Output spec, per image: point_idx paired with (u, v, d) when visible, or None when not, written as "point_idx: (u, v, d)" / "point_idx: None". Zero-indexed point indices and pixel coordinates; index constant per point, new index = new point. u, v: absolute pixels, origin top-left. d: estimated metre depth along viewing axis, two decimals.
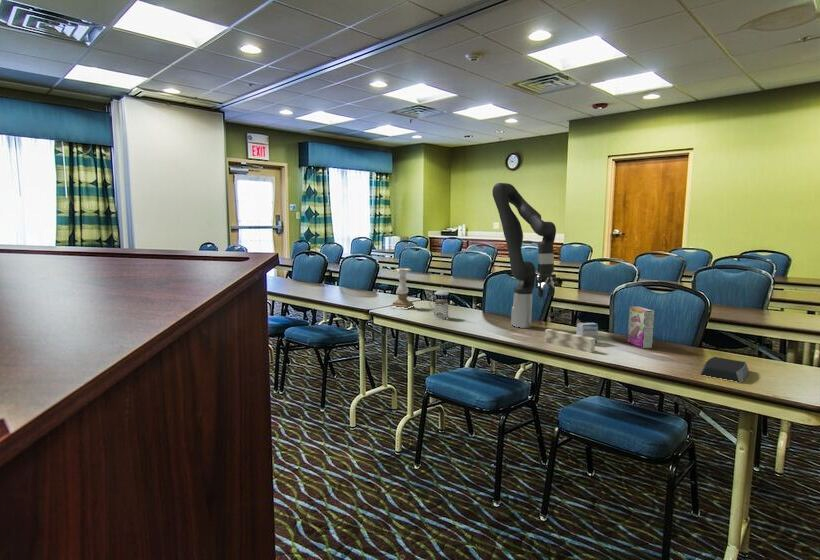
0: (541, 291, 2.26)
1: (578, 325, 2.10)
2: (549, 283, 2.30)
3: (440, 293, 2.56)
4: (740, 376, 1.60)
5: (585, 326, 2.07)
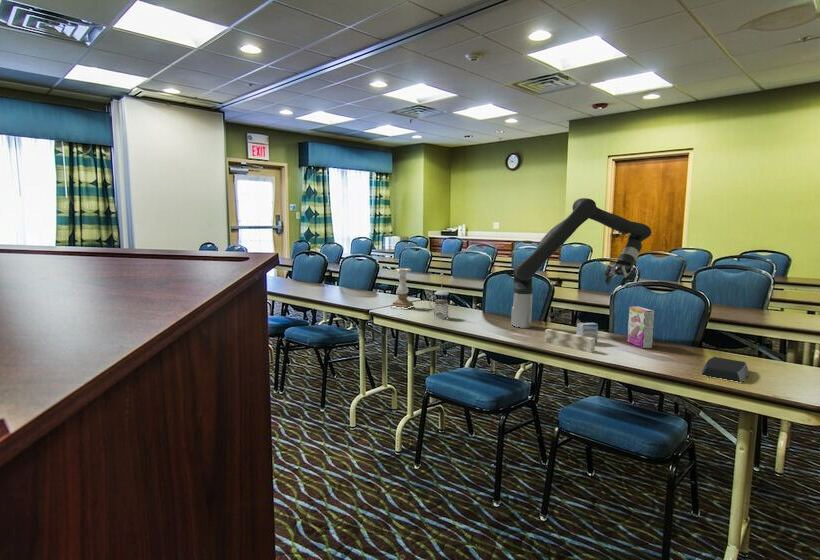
0: None
1: (578, 325, 2.10)
2: None
3: (440, 293, 2.56)
4: (741, 376, 1.60)
5: (585, 326, 2.07)
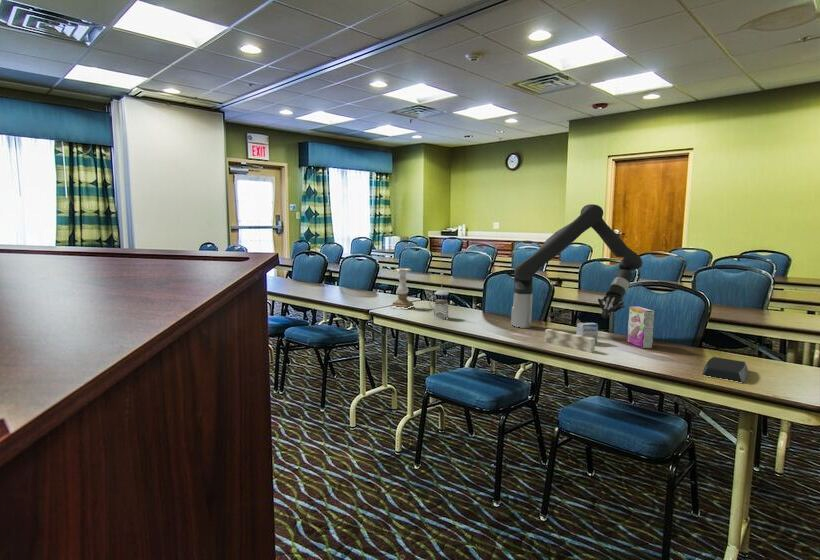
0: None
1: (578, 325, 2.10)
2: None
3: (440, 293, 2.56)
4: (743, 376, 1.60)
5: (585, 326, 2.07)
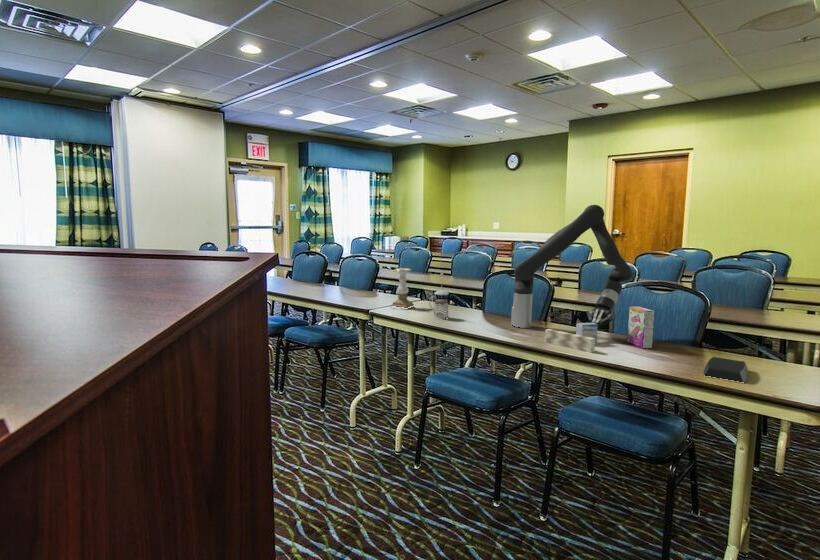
0: None
1: (577, 325, 2.10)
2: None
3: (440, 293, 2.56)
4: (744, 376, 1.60)
5: (585, 326, 2.07)
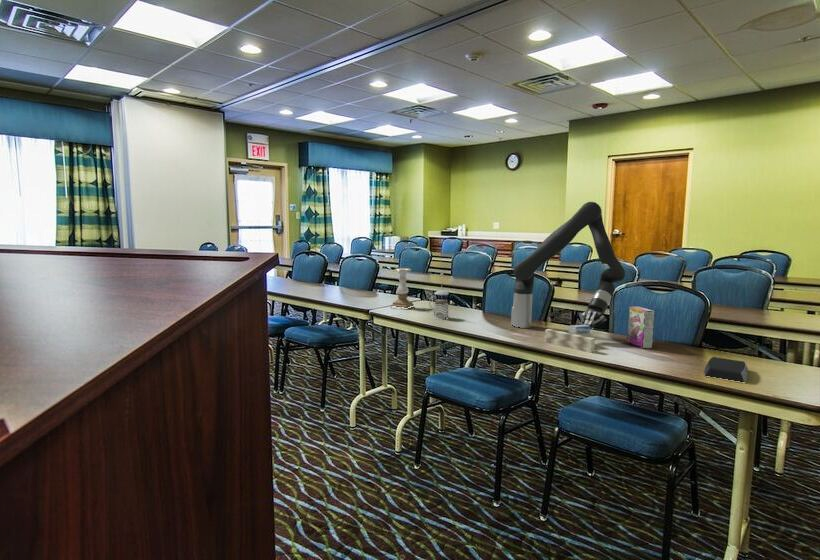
0: None
1: (570, 327, 2.05)
2: None
3: (440, 293, 2.56)
4: (745, 376, 1.60)
5: (578, 328, 2.02)
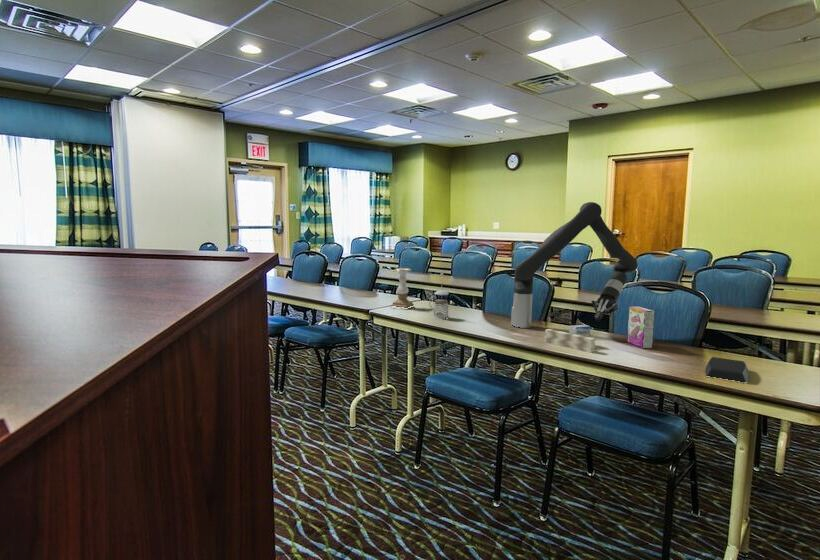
0: None
1: (571, 327, 2.05)
2: None
3: (440, 293, 2.56)
4: (746, 376, 1.60)
5: (578, 328, 2.02)
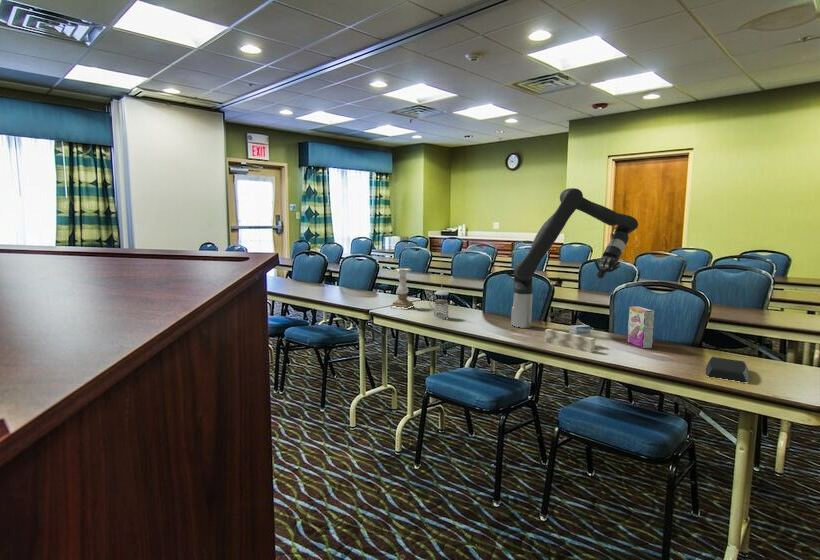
0: None
1: (571, 327, 2.05)
2: None
3: (440, 293, 2.56)
4: (747, 377, 1.60)
5: (578, 328, 2.02)
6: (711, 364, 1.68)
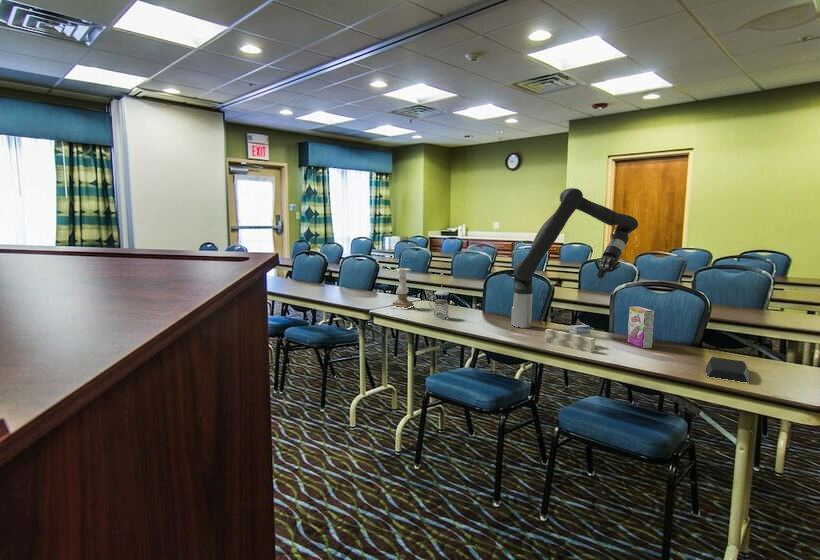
0: None
1: (571, 327, 2.05)
2: None
3: (440, 293, 2.56)
4: (747, 376, 1.60)
5: (578, 328, 2.02)
6: (711, 364, 1.68)
